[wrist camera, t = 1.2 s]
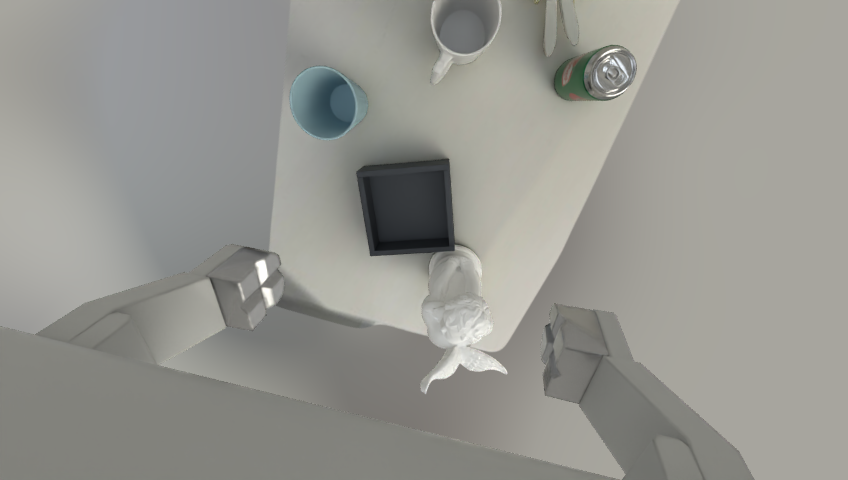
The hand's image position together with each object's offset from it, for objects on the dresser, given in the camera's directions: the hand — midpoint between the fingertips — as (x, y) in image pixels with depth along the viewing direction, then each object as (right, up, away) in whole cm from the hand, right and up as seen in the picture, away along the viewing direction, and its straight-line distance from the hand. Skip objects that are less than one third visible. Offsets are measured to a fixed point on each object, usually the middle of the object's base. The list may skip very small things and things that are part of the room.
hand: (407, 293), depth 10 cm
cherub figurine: (+7, -4, +47) cm, 47 cm away
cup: (-10, +21, +38) cm, 44 cm away
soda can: (+20, +22, +35) cm, 46 cm away
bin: (-2, +7, +42) cm, 43 cm away
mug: (+5, +26, +35) cm, 43 cm away
